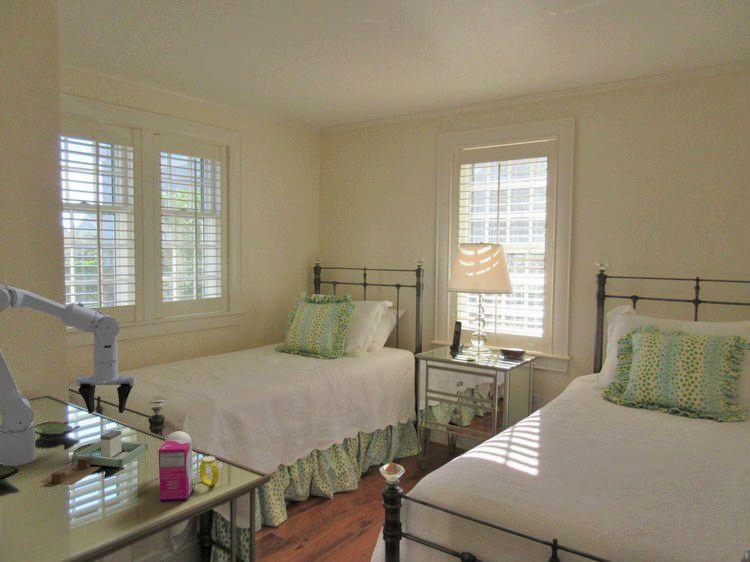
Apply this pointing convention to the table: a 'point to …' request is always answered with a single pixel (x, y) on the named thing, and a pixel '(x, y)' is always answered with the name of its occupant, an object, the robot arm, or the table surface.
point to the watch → (211, 462)
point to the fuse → (111, 444)
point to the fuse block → (72, 473)
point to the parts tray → (107, 461)
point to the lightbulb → (178, 436)
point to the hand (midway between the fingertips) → (106, 412)
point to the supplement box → (175, 470)
